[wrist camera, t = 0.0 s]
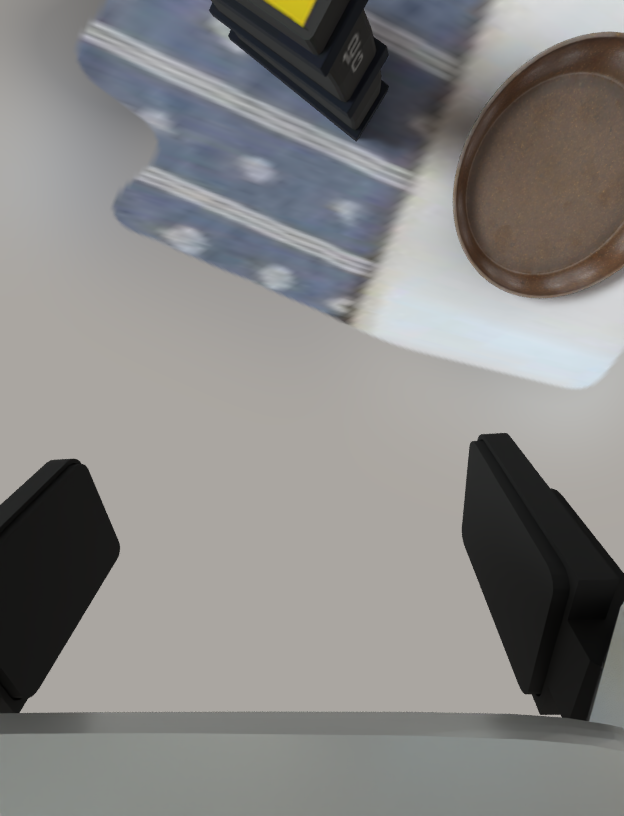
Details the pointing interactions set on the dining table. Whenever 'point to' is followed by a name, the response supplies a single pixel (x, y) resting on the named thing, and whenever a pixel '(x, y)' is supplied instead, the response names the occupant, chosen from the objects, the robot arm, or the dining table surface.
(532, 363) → the dining table surface
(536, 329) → the dining table surface
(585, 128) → the plant saucer
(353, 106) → the magazine
